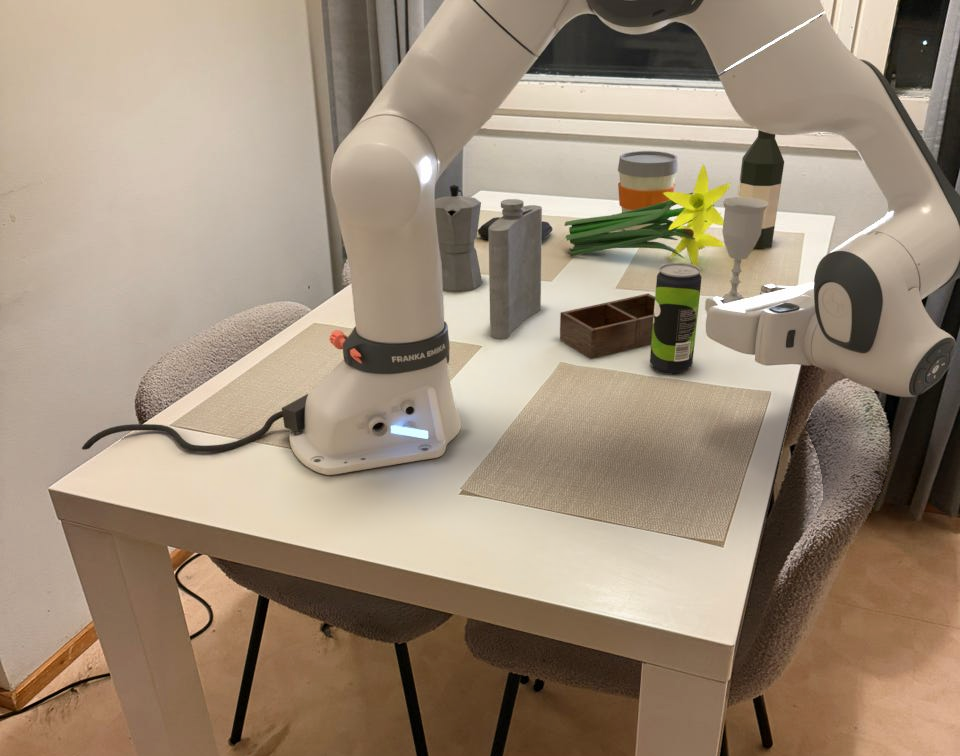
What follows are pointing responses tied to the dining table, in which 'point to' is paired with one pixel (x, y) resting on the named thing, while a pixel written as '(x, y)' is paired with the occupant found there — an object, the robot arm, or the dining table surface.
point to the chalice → (741, 234)
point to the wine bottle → (763, 181)
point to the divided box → (609, 326)
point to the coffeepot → (458, 240)
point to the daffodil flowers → (655, 224)
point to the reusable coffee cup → (645, 179)
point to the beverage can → (675, 317)
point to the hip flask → (514, 266)
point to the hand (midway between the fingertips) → (737, 296)
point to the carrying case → (484, 228)
